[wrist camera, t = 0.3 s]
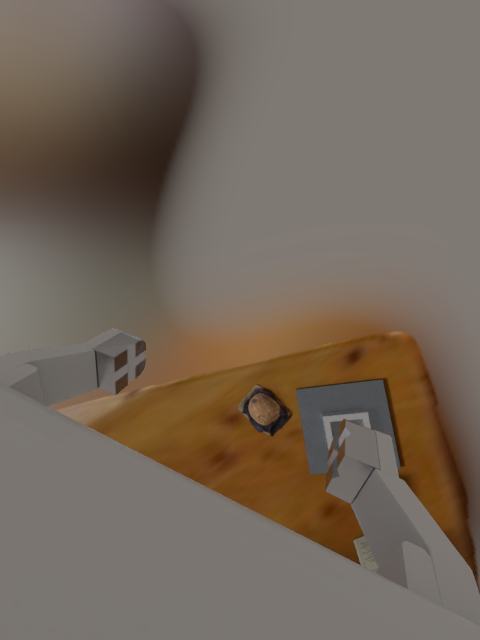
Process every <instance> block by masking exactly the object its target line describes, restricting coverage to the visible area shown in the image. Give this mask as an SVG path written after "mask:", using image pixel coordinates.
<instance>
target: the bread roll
mask: <svg viewBox="0 0 480 640" xmlns="http://www.w3.org/2000/svg"><path fill="white" fill-rule="evenodd" d="M238 408H239V410H240V411H241V412H242V413H243V414H244V415H245V416H246V417H247V418H248V419H249V420H250V423H251V424H252V425H253V426H254V427H255V428H256V429H257V431H258V432H264V433H266V434H267V435H270V434H271V436H273V435H274V434H275V433H276V432H277V431H278V430H279V429H281V428H282V426H283V425H285V424H286V423H287V421H288V420H289V416H288V415H290V414H289V412H288V411H287V409H286V408H285V407H284V406H283V405H282V404H281V403H280V402H279V401H278V400H277V399H276V398H274V397H273V395H272V394H271V393H270V392H269V391H267V390H265V389H263V388H262V387H260V386H259V385H257V384H256V385H255V386H254V387H253V388H252V389H251V391H250V392H249V393H248V394H247V395H246V397H245V398H244V399H243V400H242V401H241V403H240V404H239V405H238ZM269 433H270V434H269Z"/></svg>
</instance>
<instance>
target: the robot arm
mask: <svg viewBox="0 0 480 640" xmlns="http://www.w3.org/2000/svg"><path fill="white" fill-rule="evenodd" d="M145 350H146V343H145V342H144V341H143V340H141V339H139V338H136V337H134V336H132V335H129V334H127V333H125V332H121V331H119V330H117V329H110V330H107V331H106V332H104V333H102V334H100V335H98V336H96V337H94V338H92V339H91V340H89V341H87V342H85V343H83V344H79V343H77V344H70V345H63V346H56V347H49V348H42V349H35V350H28V351H21V352H15V353H8V354H6V355H4V356H2V357H0V640H480V594H479V591H478V587H477V584H476V581H475V578H474V575H473V572H472V570H471V568H470V567H469V566H468V564H467V563H466V562H465V560H464V559H463V558H462V556H461V555H460V554H459V552H458V551H457V550H456V548H455V547H454V546H453V545H452V543H451V542H450V541H449V539H448V538H447V537H446V535H445V534H444V533H443V531H442V530H441V529H440V527H439V526H438V525H437V523H436V522H435V521H434V519H433V518H432V517H431V515H430V514H429V513H428V511H427V510H426V509H425V507H424V506H423V505H422V503H421V502H420V501H419V499H418V498H417V497H416V496H415V494H414V493H413V492H412V490H411V489H410V488H409V486H408V485H407V484H406V482H405V481H404V480H402V479H400V478H399V475H398V469H397V464H396V459H395V453H394V448H393V442H392V438H391V437H390V435H387V434H384V433H381V432H379V431H376V430H372V429H370V428H367V427H364V426H362V425H359V424H357V423H354V422H351V421H349V420H346V419H343V420H342V422H341V424H340V426H339V434H337V435H335V436H334V438H333V440H332V443H331V446H330V449H329V454H328V464H329V466H330V468H329V470H328V472H327V475H326V488H325V491H326V492H328V493H330V494H332V495H334V496H336V497H338V498H340V499H342V500H344V501H346V502H348V503H350V504H352V505H351V506H352V508H353V511H354V513H355V515H356V518H357V520H358V522H359V525H360V527H361V529H362V531H363V534H364V536H365V538H366V541H367V543H368V545H369V547H370V550H371V552H372V554H373V557H374V559H375V561H376V563H377V566H378V568H379V569H378V570H377V572H376V573H375V572H373V571H371V570H369V569H367V568H365V567H363V566H361V565H359V564H357V563H355V562H353V561H351V560H349V559H347V558H345V557H343V556H341V555H339V554H337V553H336V552H334V551H332V550H330V549H328V548H326V547H324V546H322V545H320V544H318V543H316V542H314V541H312V540H310V539H308V538H306V537H304V536H302V535H300V534H298V533H296V532H294V531H292V530H290V529H288V528H286V527H284V526H282V525H280V524H278V523H276V522H274V521H272V520H270V519H268V518H266V517H265V516H263V515H261V514H259V513H257V512H255V511H253V510H251V509H249V508H247V507H245V506H243V505H241V504H239V503H237V502H235V501H233V500H231V499H229V498H227V497H225V496H223V495H221V494H219V493H217V492H215V491H213V490H211V489H209V488H207V487H205V486H203V485H201V484H199V483H197V482H195V481H194V480H192V479H190V478H188V477H186V476H184V475H182V474H180V473H178V472H176V471H174V470H172V469H170V468H168V467H166V466H164V465H162V464H160V463H158V462H156V461H154V460H152V459H150V458H148V457H146V456H144V455H142V454H140V453H138V452H136V451H134V450H132V449H130V448H128V447H126V446H124V445H122V444H120V443H119V442H117V441H115V440H113V439H111V438H109V437H107V436H105V435H103V434H101V433H99V432H97V431H95V430H93V429H91V428H89V427H87V426H85V425H83V424H81V423H79V422H77V421H75V420H73V419H71V418H69V417H67V416H65V415H63V414H61V413H59V412H57V411H56V410H54V409H52V408H50V407H48V406H50V405H53V404H56V403H59V402H61V401H64V400H67V399H70V398H73V397H76V396H78V395H81V394H84V393H87V392H90V391H92V390H95V389H97V388H100V389H102V390H105V391H107V392H110V393H112V394H114V395H116V394H118V393H119V392H120V391H121V390H122V389H124V388H125V387H126V386H127V385H128V381H129V380H133V379H136V378H137V377H138V376H139V375H140V374H141V372H142V371H143V369H144V367H145V361H146V358H145V356H144V354H143V352H144V351H145Z"/></svg>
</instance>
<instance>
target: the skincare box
mask: <svg viewBox="0 0 480 640" xmlns="http://www.w3.org/2000/svg"><path fill="white" fill-rule="evenodd" d="M354 544H355V548H356V551H357V554H358V557H359V561H360V564H361V566H363V567H365V568H367V569H369V570H371V571H373V572H375V573H376V572H377V570H378V569H379V568H378V566H377V563H376V561H375V559H374V557H373V554H372V552H371V550H370V547H369V545H368V543H367V541H366V538H365V536H363V537H360V538H358V539H355V540H354Z"/></svg>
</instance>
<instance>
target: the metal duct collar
mask: <svg viewBox="0 0 480 640" xmlns="http://www.w3.org/2000/svg"><path fill="white" fill-rule="evenodd" d="M296 393H297V399H298V405H299V411H300V416H301V422H302V428H303V434H304V440H305V446H306V452H307V458H308V464H309V469H310V474H324V473H327V472H328V470H329V468H330V466H329V464H328V454H329V449H330V446H331V443H332V440H333V438H334V436H335V435H337V434H339V426H340V424H341V422H342V420H343V419H346V420H349V421H351V422H354V423H357V424H359V425H362V426H364V427H367V428H370V429H372V430H376V431H379V432H381V433H384V434H387V435H390V437H391V438H392V442H393V448H394V453H395V459H396V464H397V469H401V467H400V462H399V457H398V452H397V447H396V442H395V437H394V432H393V427H392V422H391V418H390V413H389V408H388V403H387V398H386V393H385V388H384V383H383V379H376V380H367V381H359V382H350V383H342V384H333V385H325V386H317V387H308V388H300V389H296Z"/></svg>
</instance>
